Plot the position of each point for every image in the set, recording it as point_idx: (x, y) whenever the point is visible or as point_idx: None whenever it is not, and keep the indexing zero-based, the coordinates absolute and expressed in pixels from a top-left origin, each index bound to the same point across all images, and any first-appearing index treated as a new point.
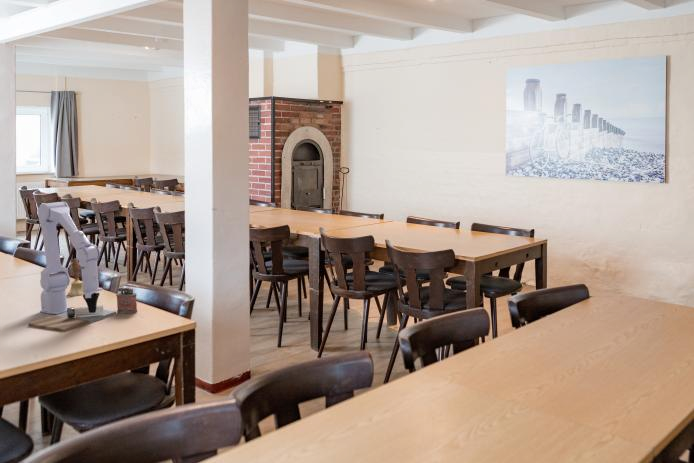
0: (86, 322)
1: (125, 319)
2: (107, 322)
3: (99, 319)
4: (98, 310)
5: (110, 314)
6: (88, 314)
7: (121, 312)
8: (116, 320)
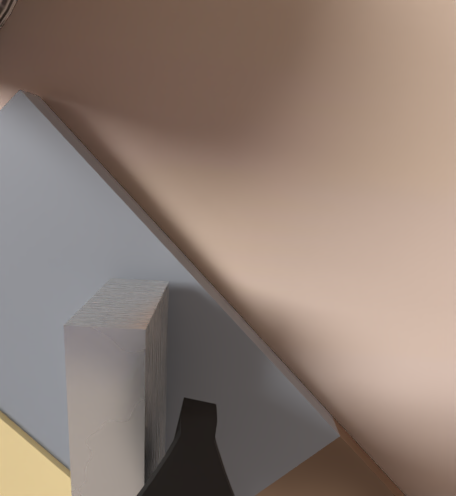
0: (360, 453)
1: (384, 7)
2: (404, 243)
3: (238, 315)
4: (155, 365)
5: (106, 179)
6: (163, 453)
7: (4, 12)
8: (370, 131)
